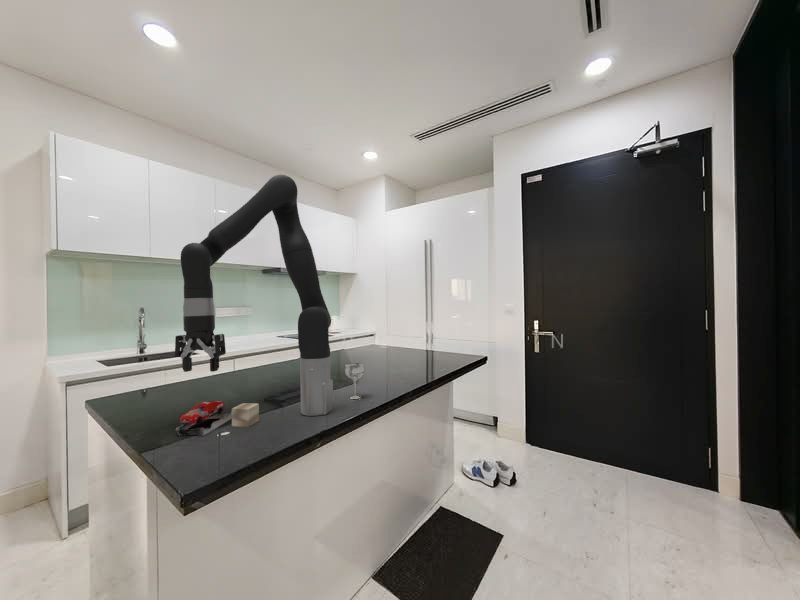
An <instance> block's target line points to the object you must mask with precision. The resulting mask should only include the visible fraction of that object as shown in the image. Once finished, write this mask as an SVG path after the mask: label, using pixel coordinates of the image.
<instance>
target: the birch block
mask: <svg viewBox="0 0 800 600" xmlns="http://www.w3.org/2000/svg"><path fill="white" fill-rule="evenodd" d="M231 412H232V419H231V427H238V428H239V427H240V428H249V427H251V426H252V425H254V424H255V423H257V422H259V421H260V404H259V403H250V402H248V403H247V402H246V403H245V402H243V403H240V404H238V405H237V406H234V407H231Z"/></svg>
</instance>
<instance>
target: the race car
mask: <svg viewBox="0 0 800 600" xmlns="http://www.w3.org/2000/svg"><path fill="white" fill-rule="evenodd" d="M225 407H226V406H225V402H224V401H222V400H208V401H206V400H205V401H203V402H200V403H198V404H197V405H195V406H193V408H189V411H187V412H186V413H184V414H182V415H181V417H180V419H179V422H180V423H179V424H181V425H183V424H194V425H200V424H202V422H203V421H205V420H209V419H208V418H210V417H212V416H214V415H222V412H224V410H225Z"/></svg>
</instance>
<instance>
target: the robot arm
mask: <svg viewBox="0 0 800 600" xmlns="http://www.w3.org/2000/svg"><path fill="white" fill-rule="evenodd" d="M271 212H272V214H273V216H274V219H275V222H276V224H277V228H278V236H279V243H280V248H281V254H282V257H283V261H284V265H285V268H286V272H287V274H288V275H289V278H290V280H291V282H292V284H293V287H294V288H295V290H296V292H297V294H298V297H299V301H300V306H301V312H300V314H299V316H298V320H297V339H298V340H297V341H298V342H297V343H298V345H297V346H298V350H299V355H300V357H299V359H300V361H299V362H300V363H299V364H300V368H299V370H300V375H299V376H300V377H299V378H300V413H301V415H303V416H308V417H309V416H310V417H313V416H314V417H315V416H316V417H317V416H321V415H324V416H325V415H327V414H328V413H330V412H331V411H332V410H333V409H334V380H333V379H332V378H331V346H330V341H329V340H330V338H329V334H330V333H329V329H330V327H331V323H332V318H331V315H330V311H329V309H328V307H327V305H326V301H325V299H324V296H323V294H322V290H321V286H320V285H321V284H320V278H319V273H318V269H317V264H316V261H315V256H314V253H313V248H312V246H311V243H310V240H309V239H308V236H307V235H306V232H305V230H304V228H303V226H302V224H301V220H300V215H299V210H298V186H297V183H296V181H295V180H294V179H293V178H291V177H290V176H288V175H286V174H276V175H273V176H272V177H270V178H269V179H268V181H266V182H265V184H264V185H263V186H262V187H261V188H260V189H259V191H257V192H256V193H255V194H254V195H253V196H252V197H251V198H250V199H249V200H248V201H247V202H245V204H243V205H242V206H241V207H240V208H239V209H237V210H235V212H233V213H232V214H231V215H230V216H228V217H227V218H225V219H224V220H223V221H221V222H220V223H219V224H217V225H216V226H215V227H214V228H212V229H211V230H210V231H209V232H208V234H207V237H205V238H204V239H203V240H201V242H199V243H198V242H191V243H188V244H186V245H185V246H184V247H182V249H181V251H180V266H181V273H182V277H183V305H182V311H183V312H182V313H183V331H184V332H185V334H179V335H176V336H175V339H174V341H175V342H174V343H175V345H174V347H175V348H174V356H175V357H179V358H181V360H182V361H181V363H182V370H183V372H184V373H185V372H186V373H187V372H191V371H192V370H193V359H192V355H193V354H194V352H196V351H198V350H199V351H203V352H204V353H206V354H207V355H208V356H209V358H210V359H209V370H210V372H212V373H213V372H217V371H218V370H219V368H220V357H221V356H223V355H226V353H227V351H226V340H225V339H226V338H225V334H224V333H219V334H218V333H217V334H214V331H215V328H216V323H215V322H216V319H215V318H216V316H215V315H216V314H215V302H214V287H213V286H214V285H213V281H212V279H211V266H213V265H214V264H216V263H217V262H218V261H219V260H220V259H221V258H222V257H223V256H224V255H225V254H226V253H227V252H228V251H229V250H231V249H232V248H233V247H234V246H236V245H237V244H238V243H240V242H241V241H242V240H244V239H245V238H246V237H247V236H248V235H249V234H251V232H252V231H253V230H254V229H255V228H256V227H257V225H258V224H259V223H260V222H261V221H262V220H263V219H264V218H265V217H266V216H267V215H268V214H270V213H271Z"/></svg>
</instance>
